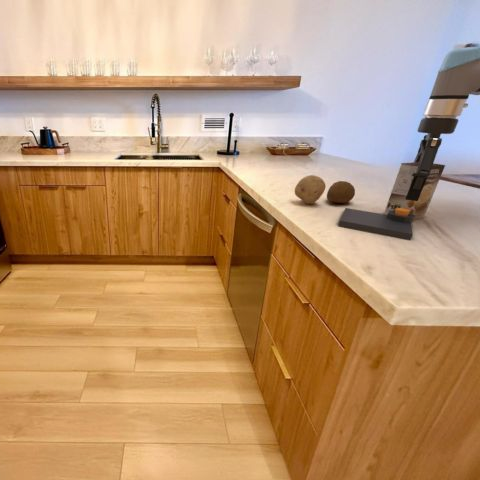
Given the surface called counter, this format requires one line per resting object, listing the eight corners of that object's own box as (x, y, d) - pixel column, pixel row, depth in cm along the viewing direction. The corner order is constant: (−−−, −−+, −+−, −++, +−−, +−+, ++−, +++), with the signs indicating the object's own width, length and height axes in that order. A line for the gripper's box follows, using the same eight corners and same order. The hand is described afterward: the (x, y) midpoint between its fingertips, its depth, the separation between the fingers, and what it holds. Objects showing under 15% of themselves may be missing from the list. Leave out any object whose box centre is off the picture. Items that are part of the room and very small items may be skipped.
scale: (410, 224, 82) (414, 212, 81) (412, 241, 72) (417, 228, 70) (344, 213, 91) (347, 202, 90) (337, 226, 81) (341, 214, 79)
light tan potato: (296, 207, 97) (302, 177, 93) (289, 199, 105) (294, 172, 101) (324, 208, 96) (332, 178, 92) (315, 200, 104) (321, 173, 100)
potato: (355, 201, 103) (361, 179, 100) (348, 209, 95) (354, 186, 91) (330, 197, 108) (335, 176, 105) (321, 204, 99) (326, 182, 96)
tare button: (407, 214, 81) (409, 209, 80) (408, 217, 79) (410, 212, 78) (394, 212, 82) (396, 207, 82) (394, 215, 80) (396, 209, 80)
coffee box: (404, 222, 84) (425, 166, 77) (382, 215, 89) (400, 163, 82) (424, 218, 87) (446, 164, 80) (401, 212, 92) (420, 161, 85)
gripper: (469, 118, 65) (430, 207, 74) (452, 117, 83) (423, 188, 92) (426, 117, 69) (394, 202, 78) (419, 116, 87) (394, 185, 96)
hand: (410, 195), depth 85 cm, fingers open, 13 cm apart
